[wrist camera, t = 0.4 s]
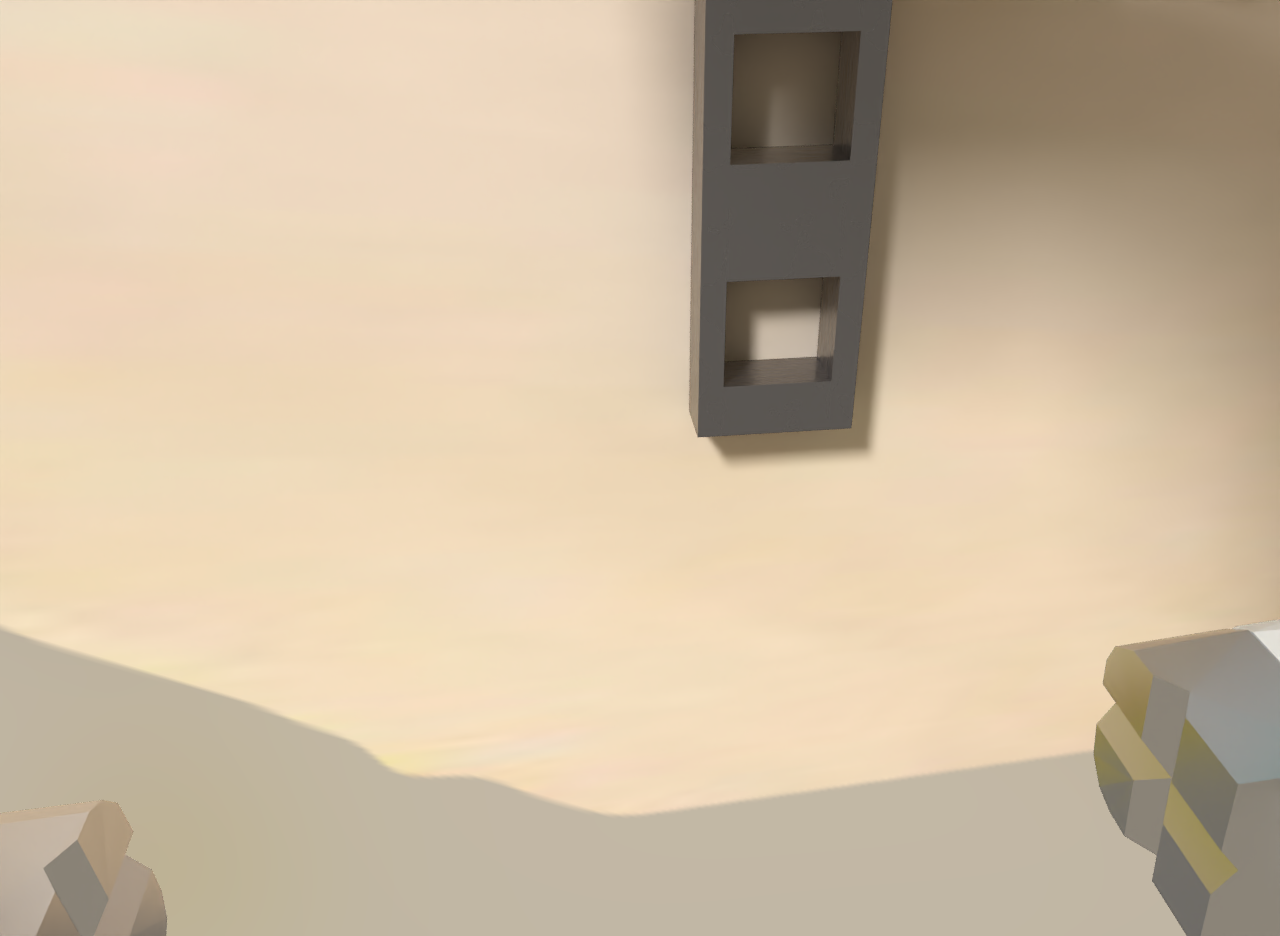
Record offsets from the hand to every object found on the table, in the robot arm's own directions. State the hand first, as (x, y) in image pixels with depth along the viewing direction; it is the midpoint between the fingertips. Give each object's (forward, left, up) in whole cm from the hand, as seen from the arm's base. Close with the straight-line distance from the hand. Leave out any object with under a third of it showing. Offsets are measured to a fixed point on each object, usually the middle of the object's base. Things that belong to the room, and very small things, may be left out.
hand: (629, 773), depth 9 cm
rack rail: (+9, +11, -45) cm, 47 cm away
